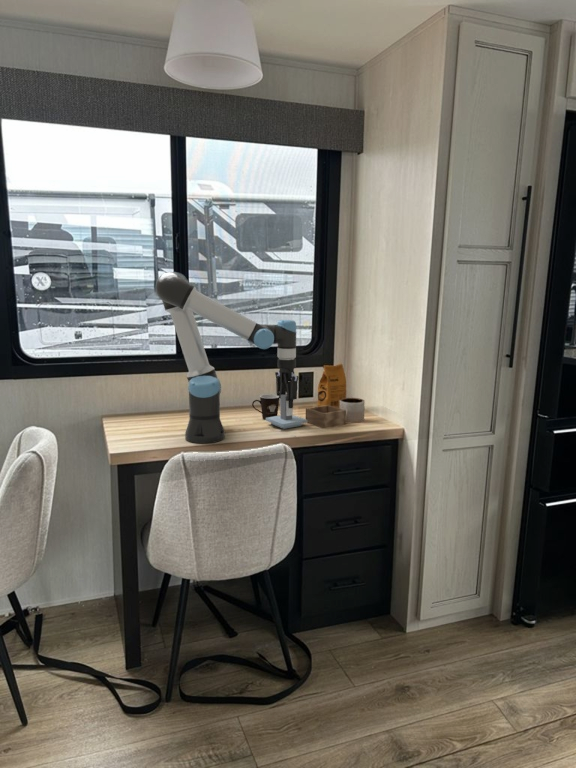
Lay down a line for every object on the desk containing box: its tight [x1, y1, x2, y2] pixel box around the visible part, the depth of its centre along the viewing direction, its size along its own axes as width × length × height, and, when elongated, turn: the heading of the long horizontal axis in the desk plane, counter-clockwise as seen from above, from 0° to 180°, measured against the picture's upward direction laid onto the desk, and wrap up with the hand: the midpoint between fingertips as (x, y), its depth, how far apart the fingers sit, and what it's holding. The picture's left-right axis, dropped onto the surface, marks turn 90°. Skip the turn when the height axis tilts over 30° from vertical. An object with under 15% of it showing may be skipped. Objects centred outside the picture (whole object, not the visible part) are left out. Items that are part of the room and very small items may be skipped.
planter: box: [339, 397, 366, 424], centre depth 253 cm, size 11×11×10 cm
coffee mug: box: [251, 393, 280, 421], centre depth 257 cm, size 12×9×10 cm
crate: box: [305, 405, 347, 429], centre depth 246 cm, size 12×12×7 cm
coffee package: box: [316, 363, 347, 408], centre depth 270 cm, size 10×12×22 cm
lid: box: [265, 393, 308, 430], centre depth 241 cm, size 12×12×13 cm
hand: (286, 414), depth 241 cm, fingers closed on lid, 3 cm apart
